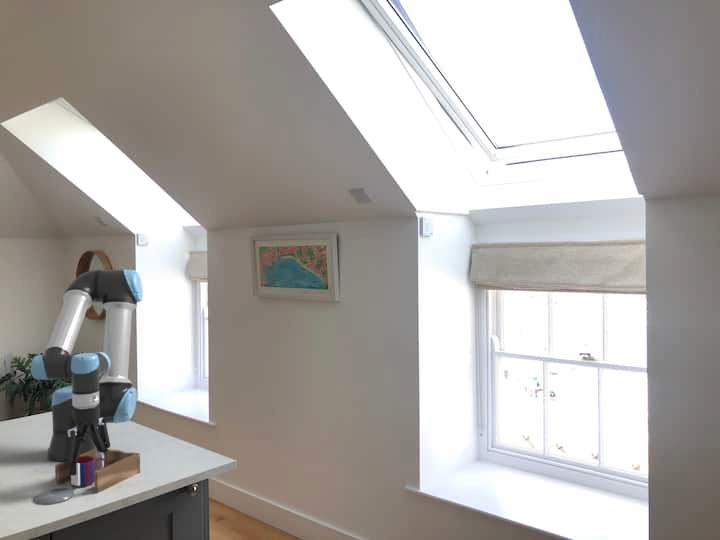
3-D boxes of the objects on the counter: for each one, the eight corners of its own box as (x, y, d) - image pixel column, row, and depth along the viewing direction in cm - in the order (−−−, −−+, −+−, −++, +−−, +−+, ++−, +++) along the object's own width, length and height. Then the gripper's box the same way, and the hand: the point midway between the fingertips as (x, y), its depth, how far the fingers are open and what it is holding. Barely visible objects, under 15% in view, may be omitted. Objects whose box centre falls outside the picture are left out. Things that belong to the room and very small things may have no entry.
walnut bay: (55, 484, 192) (55, 465, 192) (99, 465, 208) (99, 447, 208) (98, 492, 186) (97, 472, 185) (140, 472, 202) (139, 453, 202)
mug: (69, 480, 194) (69, 458, 193) (104, 474, 199) (104, 452, 199) (72, 488, 188) (72, 465, 188) (108, 481, 193) (108, 459, 193)
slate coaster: (26, 501, 180) (26, 499, 180) (55, 488, 189) (55, 486, 189) (53, 506, 176) (53, 504, 176) (81, 493, 186) (81, 491, 185)
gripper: (66, 417, 180) (69, 494, 182) (122, 397, 200) (123, 467, 202) (47, 414, 183) (49, 490, 185) (103, 395, 203) (105, 464, 205)
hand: (88, 478), depth 193 cm, fingers closed on mug, 9 cm apart
